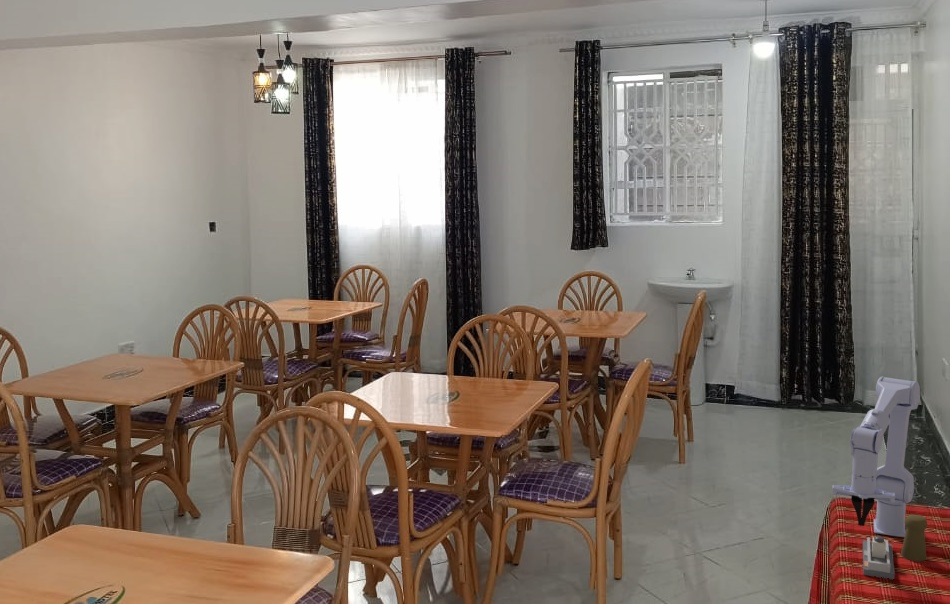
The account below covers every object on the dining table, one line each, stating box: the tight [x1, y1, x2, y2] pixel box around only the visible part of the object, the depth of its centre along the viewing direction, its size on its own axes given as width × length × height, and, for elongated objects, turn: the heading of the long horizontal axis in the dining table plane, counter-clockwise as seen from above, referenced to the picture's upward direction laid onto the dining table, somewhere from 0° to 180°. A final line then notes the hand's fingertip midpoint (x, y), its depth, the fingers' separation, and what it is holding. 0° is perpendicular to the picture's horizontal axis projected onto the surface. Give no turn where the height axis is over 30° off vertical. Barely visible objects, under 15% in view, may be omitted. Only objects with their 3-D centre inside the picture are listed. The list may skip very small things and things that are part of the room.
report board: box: [862, 537, 895, 580], centre depth 222 cm, size 18×7×4 cm, turn 156°
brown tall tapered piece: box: [900, 514, 928, 562], centre depth 224 cm, size 6×6×11 cm
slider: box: [871, 535, 886, 559], centre depth 222 cm, size 3×3×5 cm
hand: (861, 524), depth 221 cm, fingers closed
